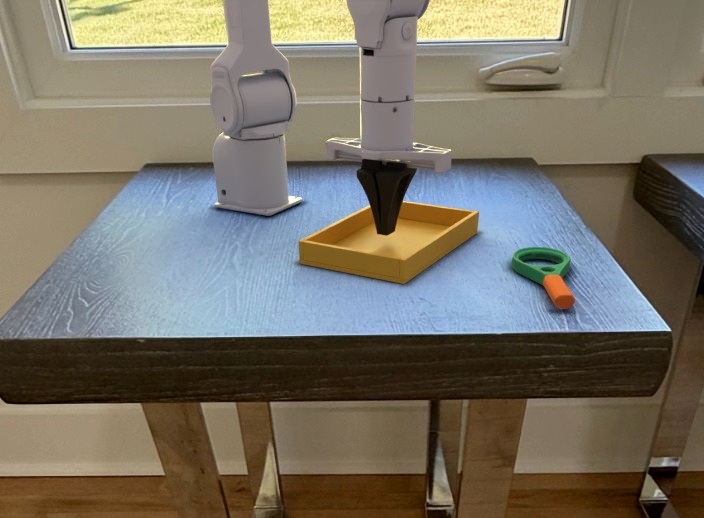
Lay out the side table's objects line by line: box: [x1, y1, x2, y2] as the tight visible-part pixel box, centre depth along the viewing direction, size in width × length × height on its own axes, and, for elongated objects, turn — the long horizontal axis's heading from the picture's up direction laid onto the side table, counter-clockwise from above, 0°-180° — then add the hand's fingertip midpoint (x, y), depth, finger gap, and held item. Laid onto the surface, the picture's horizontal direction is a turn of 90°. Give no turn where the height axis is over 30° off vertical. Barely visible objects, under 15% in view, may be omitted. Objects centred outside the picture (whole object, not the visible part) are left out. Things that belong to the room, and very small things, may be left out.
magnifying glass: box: [511, 246, 576, 310], centre depth 72 cm, size 15×6×2 cm, turn 179°
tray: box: [297, 200, 480, 285], centre depth 82 cm, size 13×19×2 cm
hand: (386, 232), depth 82 cm, fingers closed
